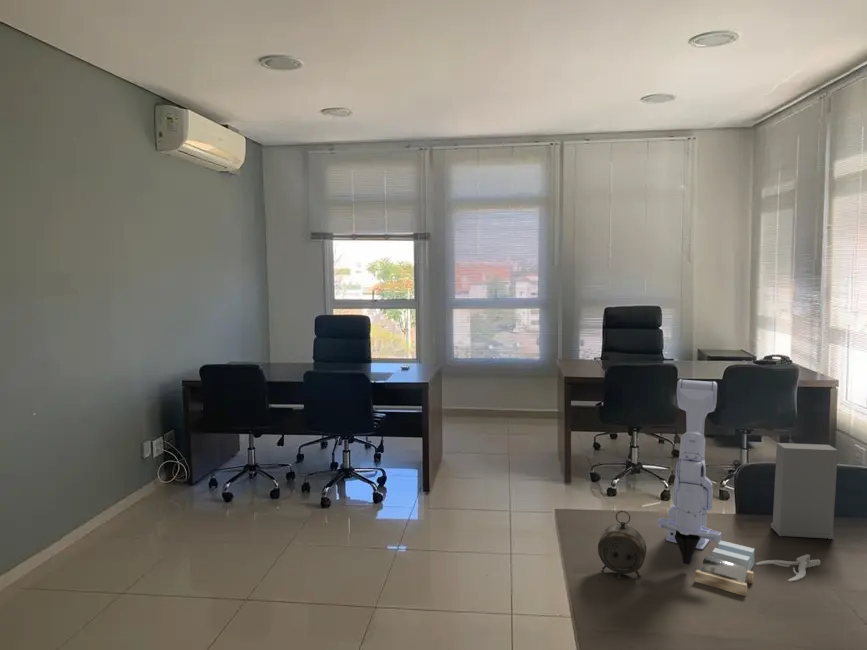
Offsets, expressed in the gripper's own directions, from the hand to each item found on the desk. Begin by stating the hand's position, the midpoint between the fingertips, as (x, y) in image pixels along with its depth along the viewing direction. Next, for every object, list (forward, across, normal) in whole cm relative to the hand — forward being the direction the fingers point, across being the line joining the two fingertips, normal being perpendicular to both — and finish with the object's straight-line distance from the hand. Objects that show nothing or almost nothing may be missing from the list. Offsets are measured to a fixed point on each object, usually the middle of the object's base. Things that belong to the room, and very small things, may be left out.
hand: (687, 562), depth 154 cm
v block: (+2, +8, +10) cm, 13 cm away
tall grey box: (+2, +19, +42) cm, 46 cm away
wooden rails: (+2, +8, 0) cm, 9 cm away
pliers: (+3, +20, +18) cm, 27 cm away
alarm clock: (+2, -12, -12) cm, 17 cm away
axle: (+2, +8, 0) cm, 9 cm away
